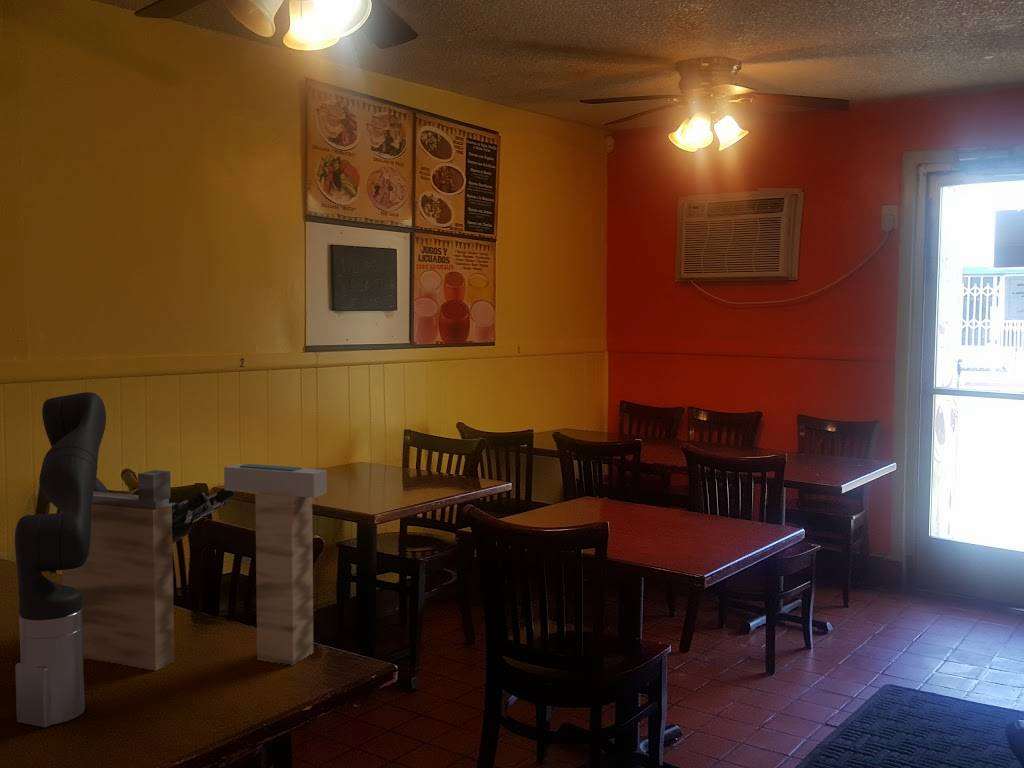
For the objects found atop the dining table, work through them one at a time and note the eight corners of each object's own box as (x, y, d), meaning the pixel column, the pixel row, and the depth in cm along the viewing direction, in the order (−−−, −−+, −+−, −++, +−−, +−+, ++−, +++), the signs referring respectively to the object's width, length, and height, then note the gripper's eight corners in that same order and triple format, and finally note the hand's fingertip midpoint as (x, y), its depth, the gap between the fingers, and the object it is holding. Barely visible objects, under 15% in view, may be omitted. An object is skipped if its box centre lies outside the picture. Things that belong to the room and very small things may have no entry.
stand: (293, 665, 176) (291, 497, 174) (257, 659, 179) (255, 494, 177) (313, 653, 183) (312, 491, 181) (278, 648, 186) (277, 488, 184)
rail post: (155, 670, 173) (152, 475, 171) (64, 655, 181) (59, 467, 179) (174, 661, 178) (171, 471, 176) (84, 646, 186) (79, 463, 183)
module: (326, 493, 178) (326, 468, 178) (313, 497, 174) (313, 472, 174) (238, 486, 185) (238, 462, 185) (224, 490, 181) (224, 465, 181)
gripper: (128, 518, 183) (187, 481, 178) (178, 505, 197) (233, 470, 191) (144, 552, 182) (203, 517, 177) (193, 537, 196) (249, 503, 190)
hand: (219, 493), depth 184 cm, fingers open, 8 cm apart
